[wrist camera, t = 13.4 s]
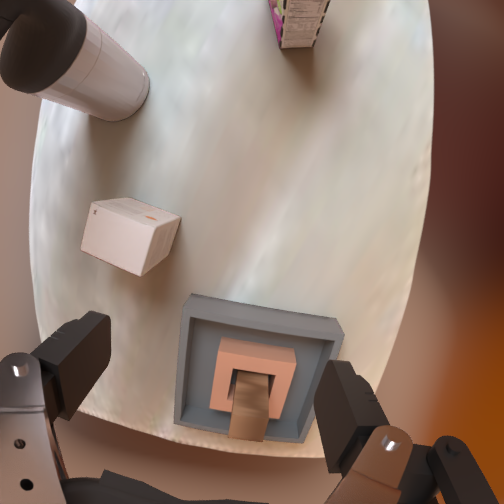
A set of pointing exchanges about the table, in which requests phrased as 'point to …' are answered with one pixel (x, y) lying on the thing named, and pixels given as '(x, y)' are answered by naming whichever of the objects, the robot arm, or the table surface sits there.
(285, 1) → the candy bar box
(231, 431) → the walnut peg
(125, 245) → the small box
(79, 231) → the table surface
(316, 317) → the walled bin
